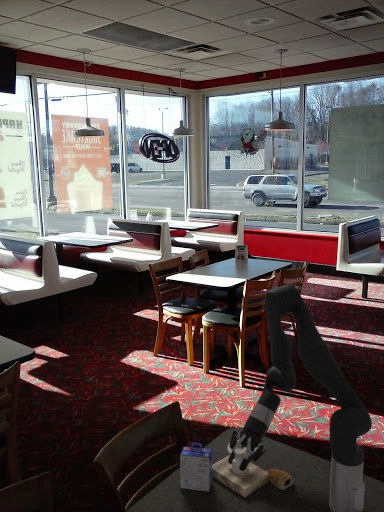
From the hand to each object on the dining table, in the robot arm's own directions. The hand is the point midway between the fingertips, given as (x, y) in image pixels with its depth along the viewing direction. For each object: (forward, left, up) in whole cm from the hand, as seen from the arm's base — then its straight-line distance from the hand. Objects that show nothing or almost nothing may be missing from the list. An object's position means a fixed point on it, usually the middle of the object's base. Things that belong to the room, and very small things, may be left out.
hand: (235, 466), depth 165 cm
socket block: (0, -2, -5) cm, 5 cm away
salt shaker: (0, -2, -5) cm, 5 cm away
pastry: (-10, -10, -6) cm, 16 cm away
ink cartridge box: (+7, +11, -5) cm, 14 cm away
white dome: (+10, -15, -5) cm, 19 cm away
